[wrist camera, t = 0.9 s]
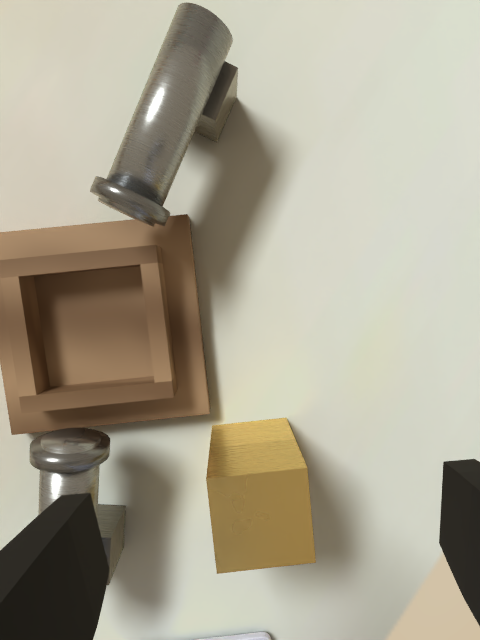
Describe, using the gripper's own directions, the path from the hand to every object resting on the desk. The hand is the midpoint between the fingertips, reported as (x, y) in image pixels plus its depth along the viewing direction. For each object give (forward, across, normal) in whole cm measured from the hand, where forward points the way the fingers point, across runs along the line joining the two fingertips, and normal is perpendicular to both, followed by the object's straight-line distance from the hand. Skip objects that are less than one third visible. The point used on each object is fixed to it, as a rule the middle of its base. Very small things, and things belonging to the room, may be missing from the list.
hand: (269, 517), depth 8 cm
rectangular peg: (+12, +1, +7) cm, 14 cm away
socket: (+14, +8, -1) cm, 16 cm away
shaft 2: (+15, +3, -9) cm, 18 cm away
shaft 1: (+12, +9, +8) cm, 17 cm away
